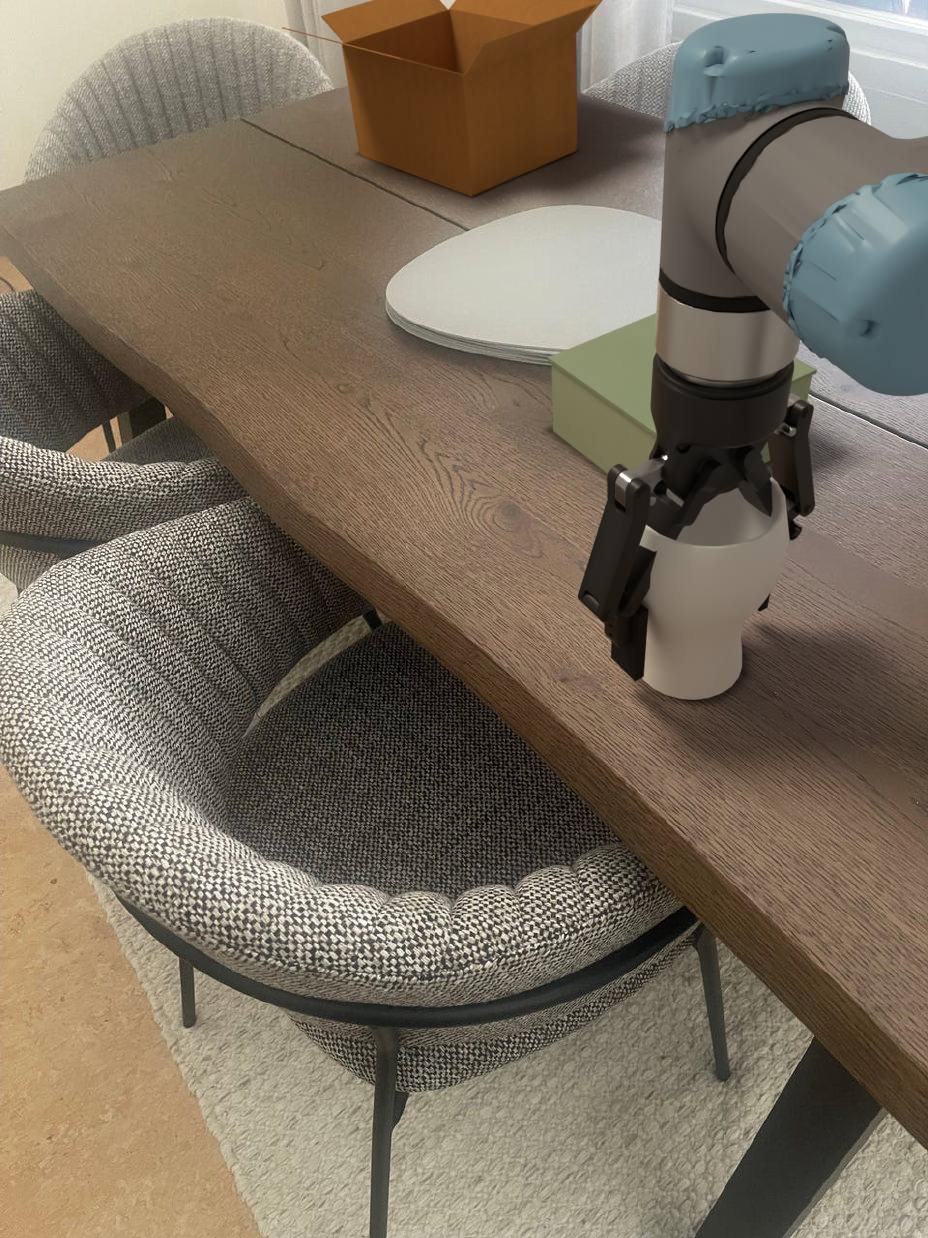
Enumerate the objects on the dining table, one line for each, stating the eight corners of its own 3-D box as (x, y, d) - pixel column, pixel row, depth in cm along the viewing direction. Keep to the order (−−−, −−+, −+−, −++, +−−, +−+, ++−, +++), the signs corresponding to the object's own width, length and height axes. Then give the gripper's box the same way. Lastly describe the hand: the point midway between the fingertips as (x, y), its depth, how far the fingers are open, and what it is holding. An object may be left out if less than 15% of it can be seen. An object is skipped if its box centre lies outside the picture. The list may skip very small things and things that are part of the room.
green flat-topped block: (801, 447, 85) (817, 369, 79) (659, 517, 80) (665, 439, 74) (682, 373, 95) (688, 299, 90) (550, 431, 90) (547, 357, 85)
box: (440, 227, 126) (421, 54, 111) (292, 165, 147) (260, 14, 133) (638, 139, 141) (644, -23, 127) (479, 95, 163) (468, -48, 148)
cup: (730, 738, 63) (760, 576, 53) (589, 683, 68) (590, 523, 57) (783, 636, 69) (819, 472, 59) (650, 592, 74) (661, 432, 63)
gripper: (826, 264, 57) (773, 540, 72) (508, 397, 50) (526, 671, 65) (929, 309, 52) (848, 594, 68) (593, 465, 45) (590, 742, 61)
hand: (690, 632), depth 66 cm, fingers closed on cup, 11 cm apart
